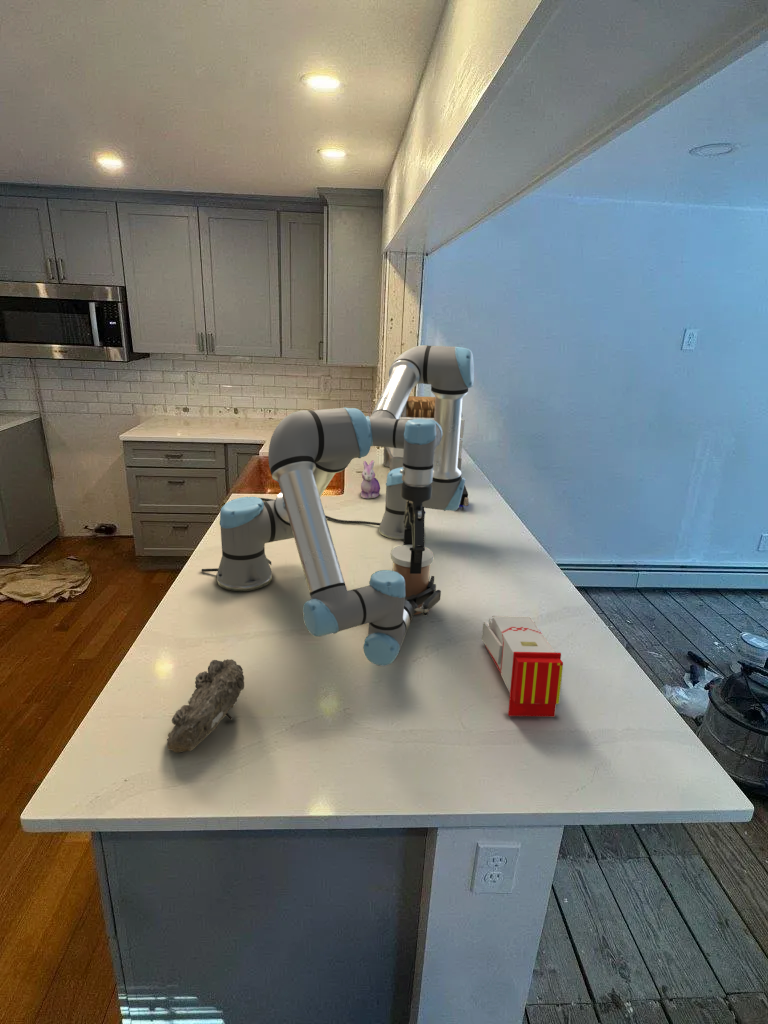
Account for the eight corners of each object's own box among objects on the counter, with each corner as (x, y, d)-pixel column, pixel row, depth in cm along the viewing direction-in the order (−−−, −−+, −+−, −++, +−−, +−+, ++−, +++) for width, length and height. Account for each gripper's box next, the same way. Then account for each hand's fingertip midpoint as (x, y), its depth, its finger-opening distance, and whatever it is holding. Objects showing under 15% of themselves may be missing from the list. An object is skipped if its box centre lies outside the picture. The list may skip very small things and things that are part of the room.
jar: (383, 601, 154) (386, 551, 149) (414, 593, 158) (417, 545, 153) (402, 618, 146) (406, 566, 141) (434, 609, 150) (438, 559, 145)
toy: (528, 601, 136) (572, 659, 107) (523, 653, 139) (565, 722, 110) (478, 600, 136) (508, 657, 107) (474, 652, 139) (503, 722, 109)
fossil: (192, 660, 117) (244, 628, 112) (224, 691, 120) (276, 661, 115) (142, 746, 98) (202, 712, 93) (182, 779, 101) (242, 748, 96)
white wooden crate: (382, 463, 289) (386, 382, 275) (445, 464, 293) (451, 384, 279) (390, 482, 257) (394, 392, 243) (460, 483, 261) (468, 394, 247)
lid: (426, 549, 153) (427, 543, 153) (438, 566, 143) (438, 561, 143) (386, 550, 151) (387, 545, 151) (395, 568, 141) (396, 563, 141)
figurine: (365, 500, 232) (366, 464, 227) (354, 493, 241) (355, 458, 236) (385, 497, 237) (387, 463, 231) (374, 490, 245) (375, 457, 240)
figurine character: (468, 514, 225) (463, 498, 239) (470, 497, 222) (465, 482, 235) (451, 514, 225) (447, 498, 238) (453, 497, 222) (449, 481, 235)
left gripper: (349, 624, 137) (372, 583, 157) (441, 639, 132) (453, 596, 153) (349, 596, 135) (373, 559, 155) (443, 611, 130) (455, 571, 150)
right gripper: (395, 469, 151) (392, 543, 159) (408, 498, 129) (403, 583, 136) (423, 469, 152) (418, 543, 159) (441, 498, 129) (434, 583, 137)
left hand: (413, 577), depth 154 cm, fingers closed on jar, 10 cm apart
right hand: (411, 562), depth 148 cm, fingers open, 12 cm apart
